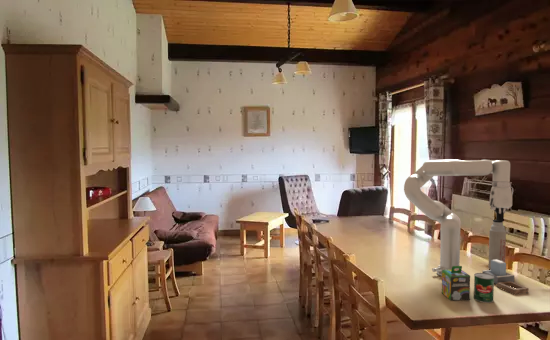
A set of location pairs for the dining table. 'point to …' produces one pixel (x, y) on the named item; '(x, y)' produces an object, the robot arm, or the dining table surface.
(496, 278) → the port
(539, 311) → the dining table surface
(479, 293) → the canned tomato
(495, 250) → the thermos bottle
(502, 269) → the light blue block
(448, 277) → the chalk box
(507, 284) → the brown rectangular tray
